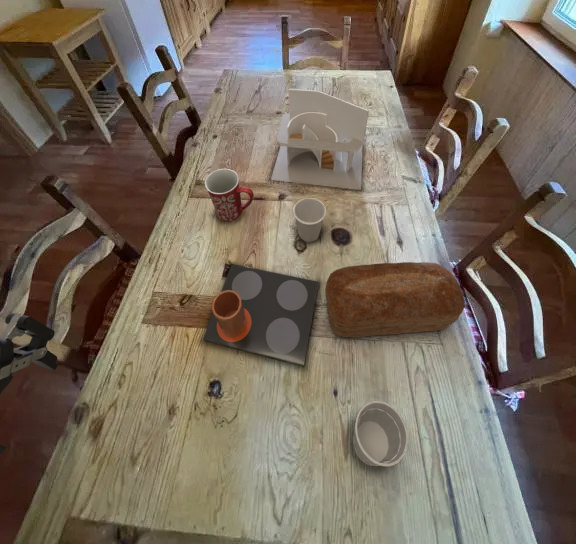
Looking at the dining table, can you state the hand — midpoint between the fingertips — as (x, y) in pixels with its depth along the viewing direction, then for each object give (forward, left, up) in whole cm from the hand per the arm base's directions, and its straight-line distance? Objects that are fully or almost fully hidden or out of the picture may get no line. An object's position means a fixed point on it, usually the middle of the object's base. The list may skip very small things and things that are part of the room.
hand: (27, 404), depth 42 cm
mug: (+53, -4, -29) cm, 61 cm away
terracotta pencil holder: (+23, -14, -28) cm, 39 cm away
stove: (+28, -20, -29) cm, 45 cm away
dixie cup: (+51, -26, -29) cm, 64 cm away
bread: (+34, -47, -29) cm, 65 cm away
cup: (+10, -45, -29) cm, 55 cm away
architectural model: (+79, -24, -29) cm, 88 cm away
